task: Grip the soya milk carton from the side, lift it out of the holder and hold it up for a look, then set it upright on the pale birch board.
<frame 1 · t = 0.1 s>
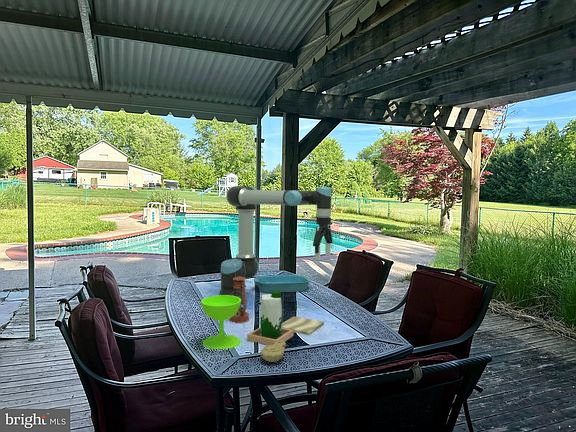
hand: (322, 257, 205), 28 cm above the table, tool pointing down, fingers open, 13 cm apart
casserole dish: (282, 289, 250), on the table
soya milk: (270, 338, 168), resting in holder
holder: (270, 337, 168), on the table
lantern: (239, 320, 190), on the table
wineglass: (221, 344, 161), on the table
oil lamp: (273, 358, 148), on the table
board: (301, 326, 182), on the table
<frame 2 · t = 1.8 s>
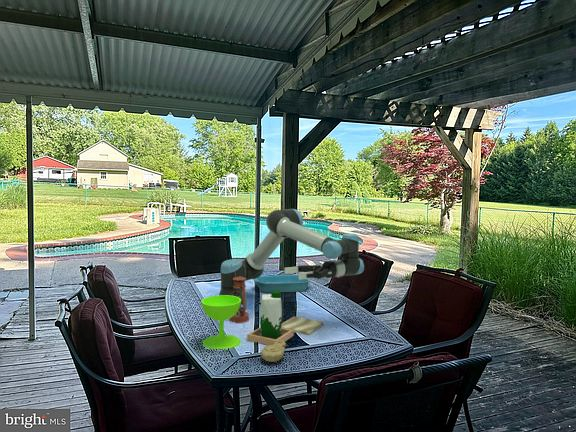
hand: (291, 273, 171), 27 cm above the table, tool horizontal, fingers open, 13 cm apart
nothing on the table moved.
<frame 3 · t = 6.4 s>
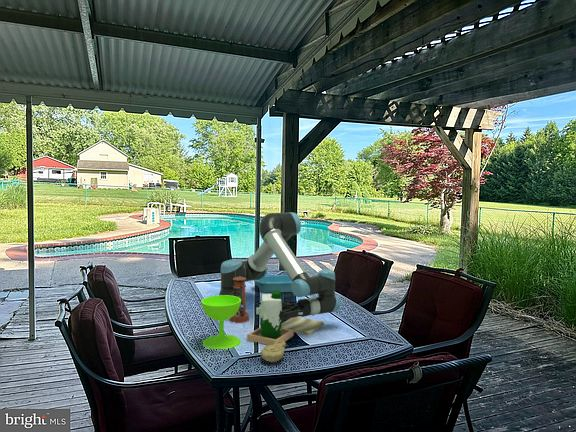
hand: (260, 313, 165), 11 cm above the table, tool horizontal, fingers closed on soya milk, 7 cm apart
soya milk: (270, 337, 167), resting in holder, touching gripper
everything else where it was.
when the fingers open (13 cm above the table, at t = 14.5 s): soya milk drops 1 cm, resting on board.
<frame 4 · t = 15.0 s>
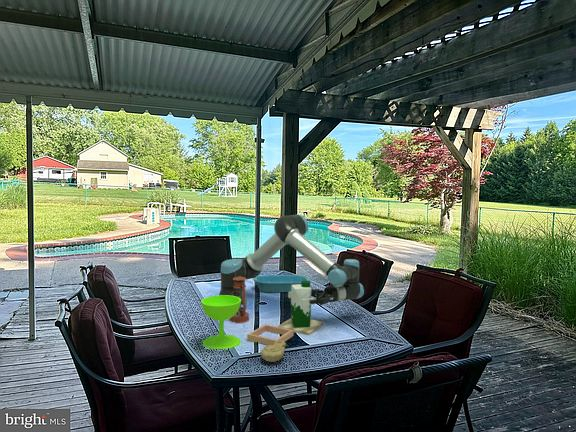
hand: (295, 298, 179), 13 cm above the table, tool horizontal, fingers open, 13 cm apart
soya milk: (300, 325, 181), point 1 cm above the table, touching board
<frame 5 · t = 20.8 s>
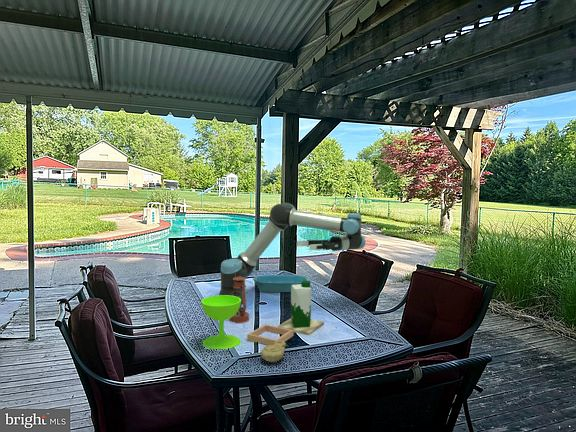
hand: (303, 245, 198), 35 cm above the table, tool horizontal, fingers open, 13 cm apart
at the end: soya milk inside the target area on the board (1.1 cm from its centre), point 1.0 cm above the board's base; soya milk tilted 0°; the gripper is holding nothing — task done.
